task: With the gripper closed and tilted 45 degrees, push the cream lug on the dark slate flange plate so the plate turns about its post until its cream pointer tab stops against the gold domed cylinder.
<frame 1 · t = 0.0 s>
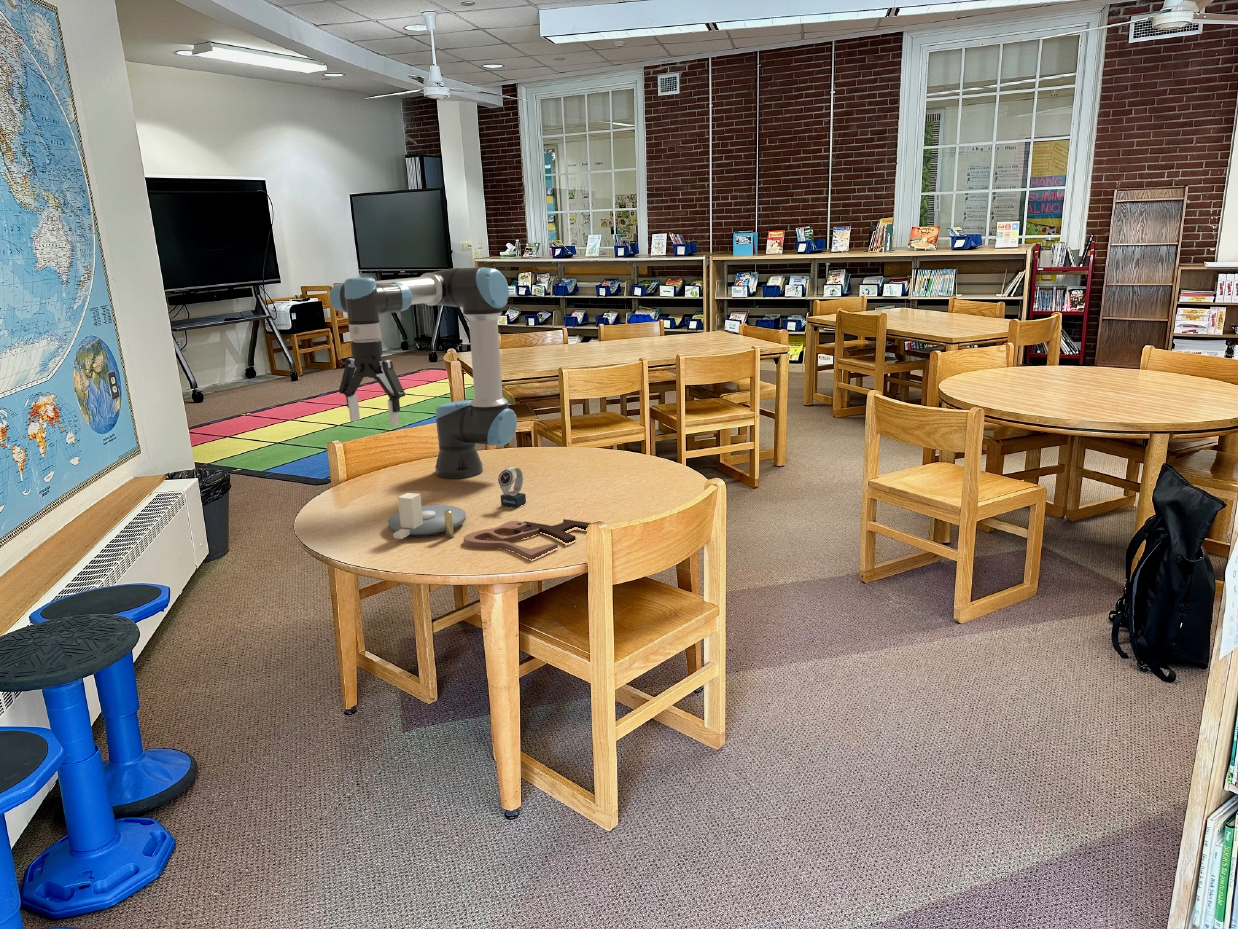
hand: (374, 422, 217), 28 cm above the table, tool pointing down, fingers open, 13 cm apart
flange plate: (422, 506, 219), point 6 cm above the table, hinge at 0.0°
watch: (513, 505, 238), on the table
wood carving: (531, 539, 212), on the table
turntable base: (428, 526, 222), on the table
gold domed cylinder: (450, 537, 214), on the table
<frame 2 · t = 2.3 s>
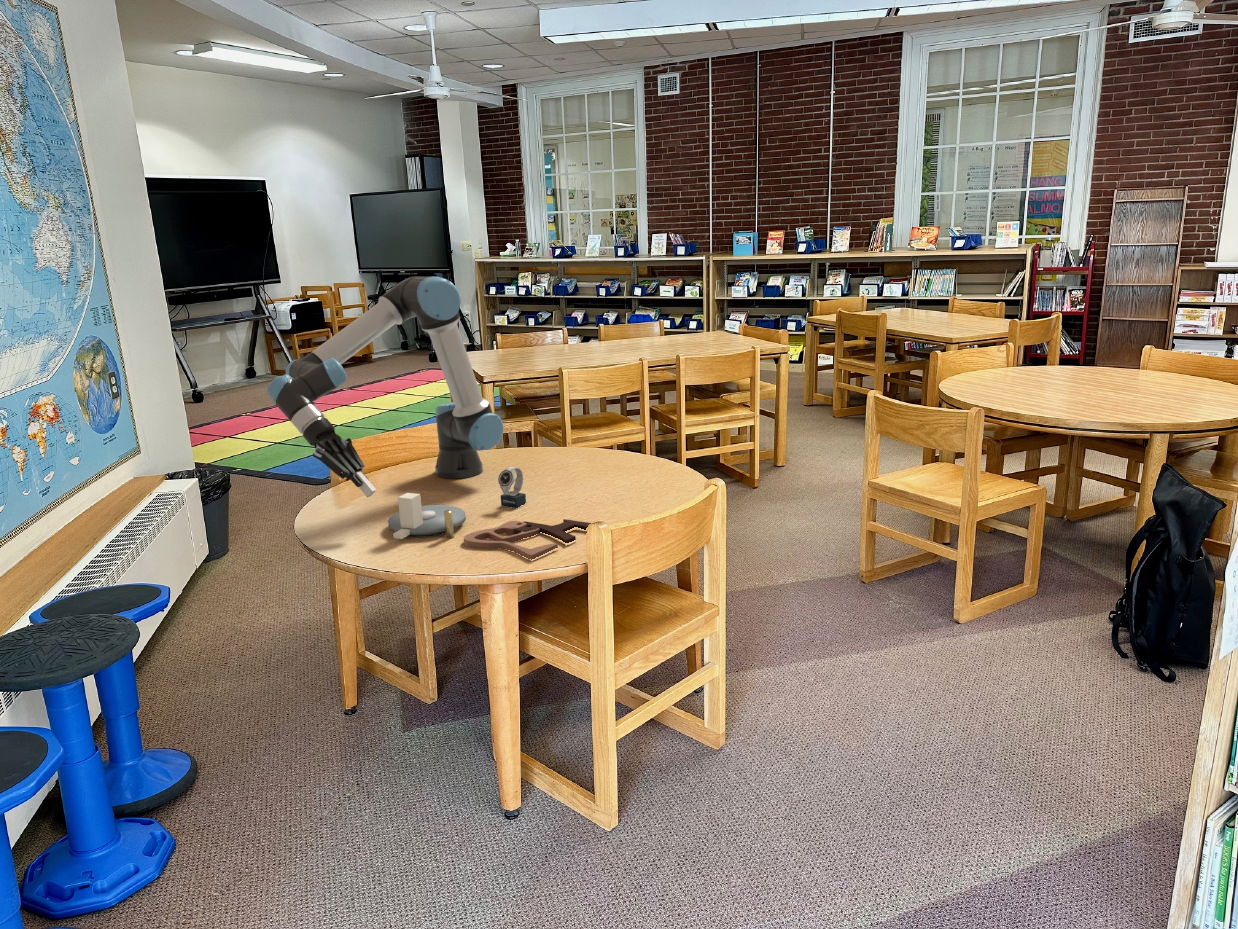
hand: (371, 493, 216), 11 cm above the table, tool tilted 45°, fingers closed
nothing on the table moved.
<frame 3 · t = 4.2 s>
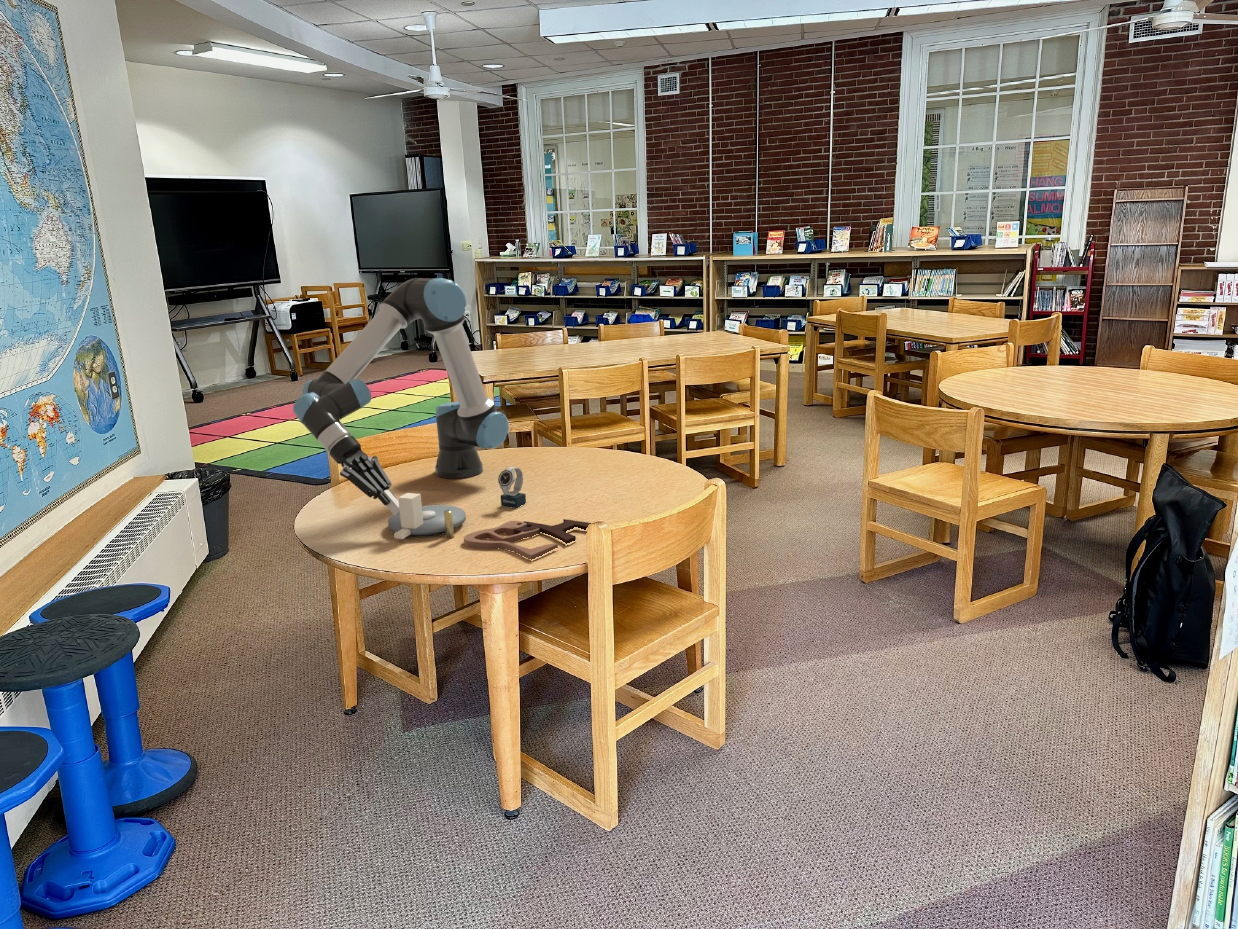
hand: (399, 511, 215), 6 cm above the table, tool tilted 45°, fingers closed
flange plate: (422, 506, 219), point 6 cm above the table, hinge at 1.0°, touching gripper
everything else where it was.
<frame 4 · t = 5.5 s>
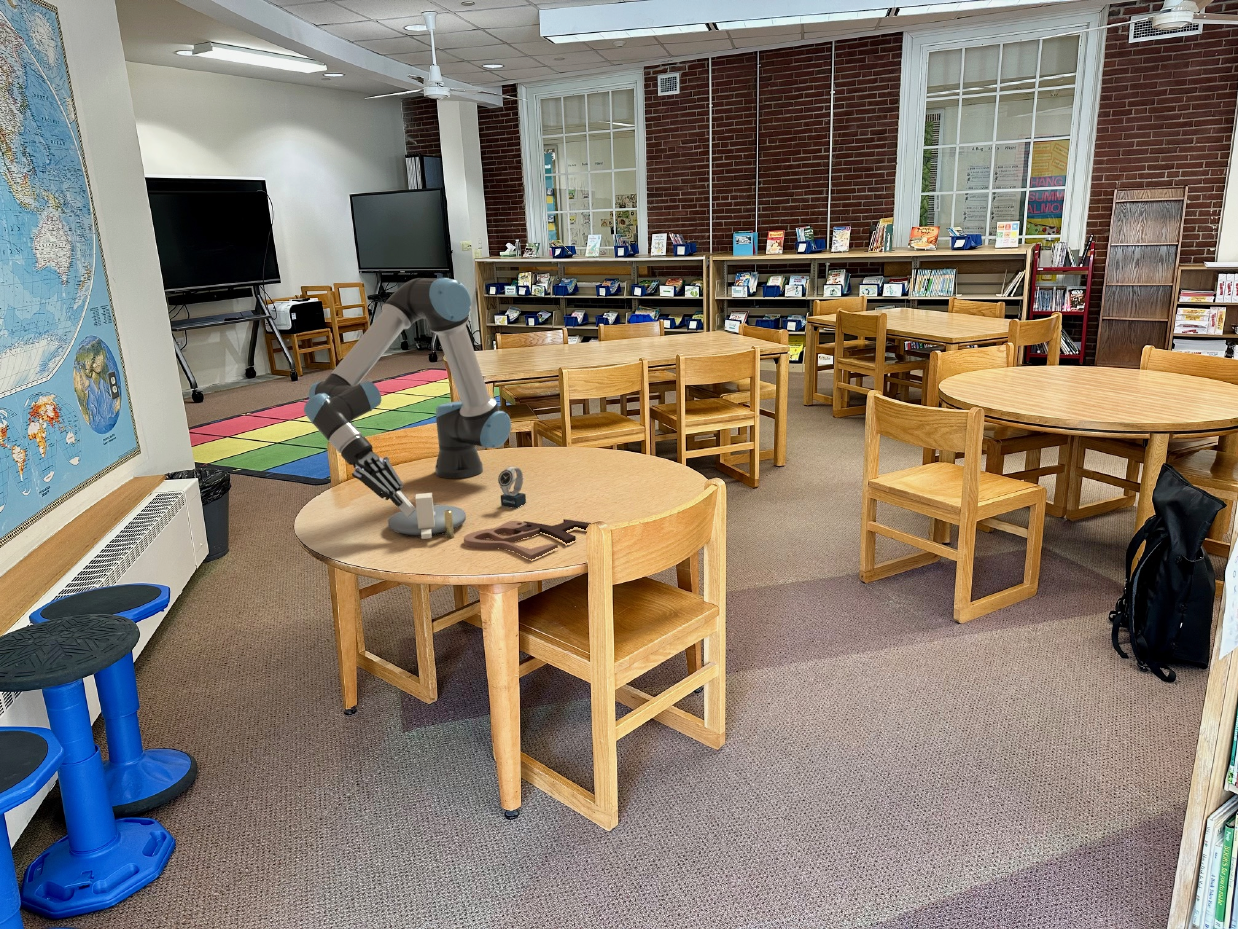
hand: (411, 513, 214), 6 cm above the table, tool tilted 45°, fingers closed
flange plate: (425, 506, 219), point 6 cm above the table, hinge at 31.6°, touching gripper
everything else where it was.
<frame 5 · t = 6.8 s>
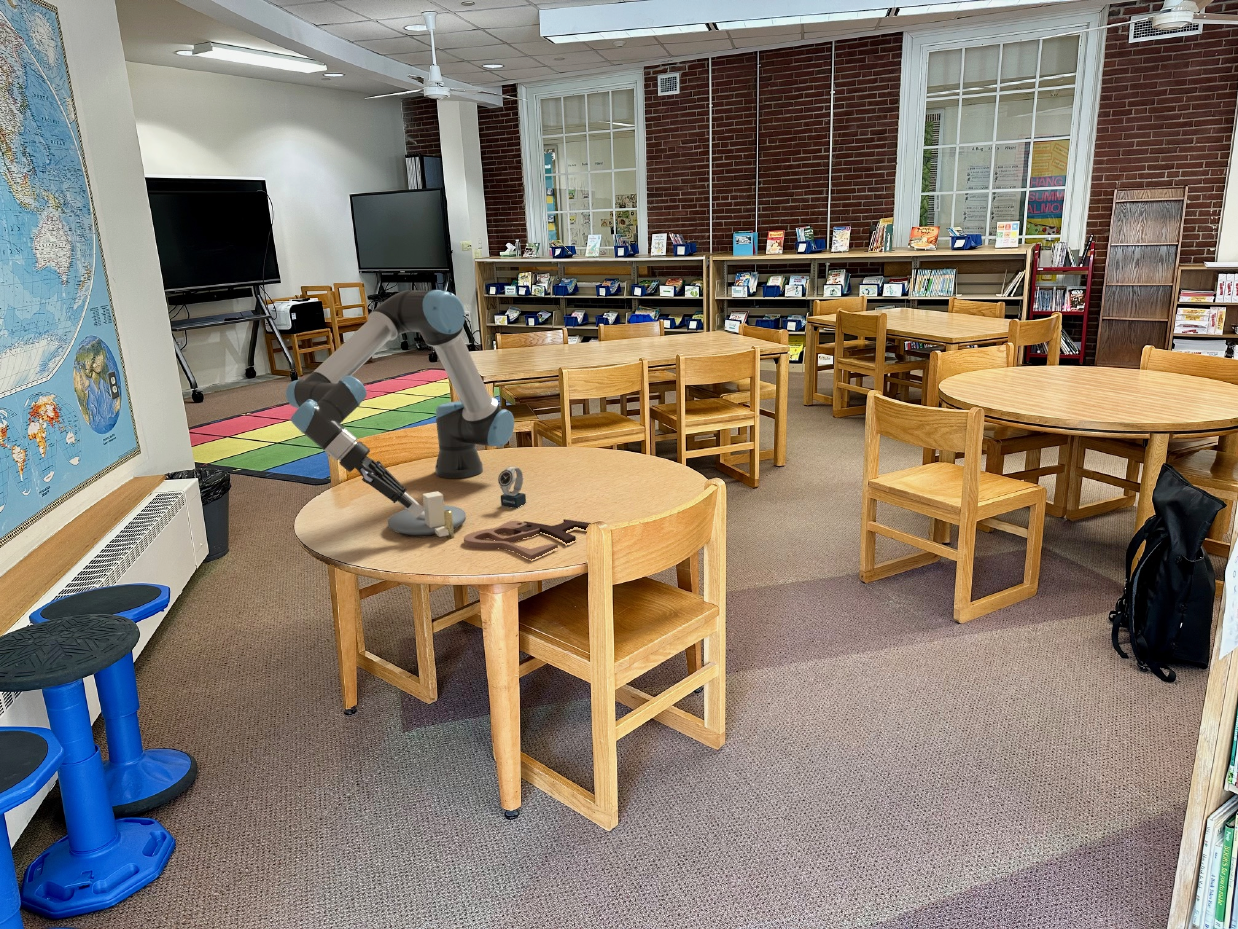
hand: (420, 513, 213), 6 cm above the table, tool tilted 45°, fingers closed
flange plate: (428, 506, 219), point 6 cm above the table, hinge at 50.1°, touching gold domed cylinder, gripper
everything else where it was.
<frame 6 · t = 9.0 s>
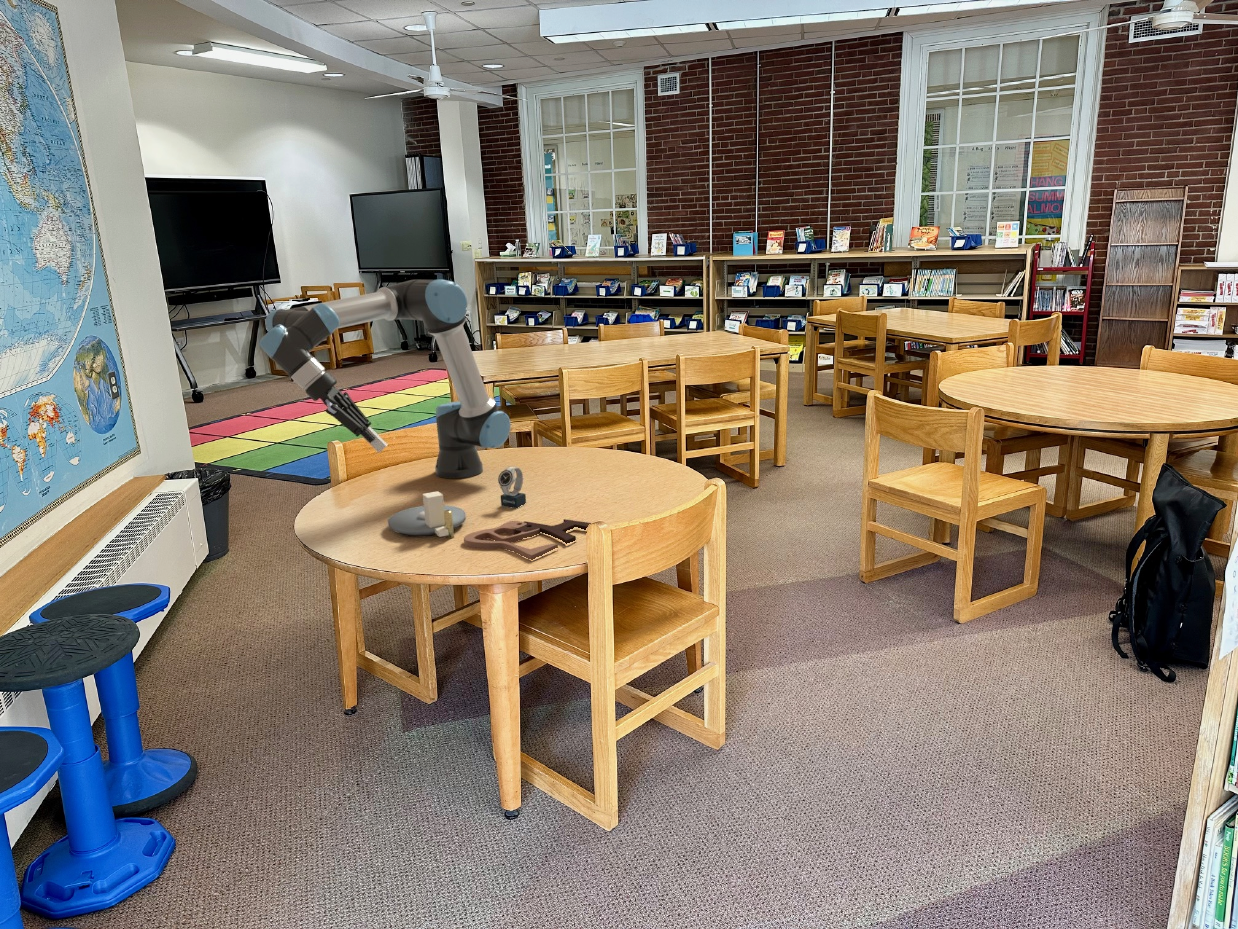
hand: (383, 448, 215), 22 cm above the table, tool tilted 40°, fingers closed
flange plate: (428, 506, 219), point 6 cm above the table, hinge at 50.1°, touching gold domed cylinder
everything else where it was.
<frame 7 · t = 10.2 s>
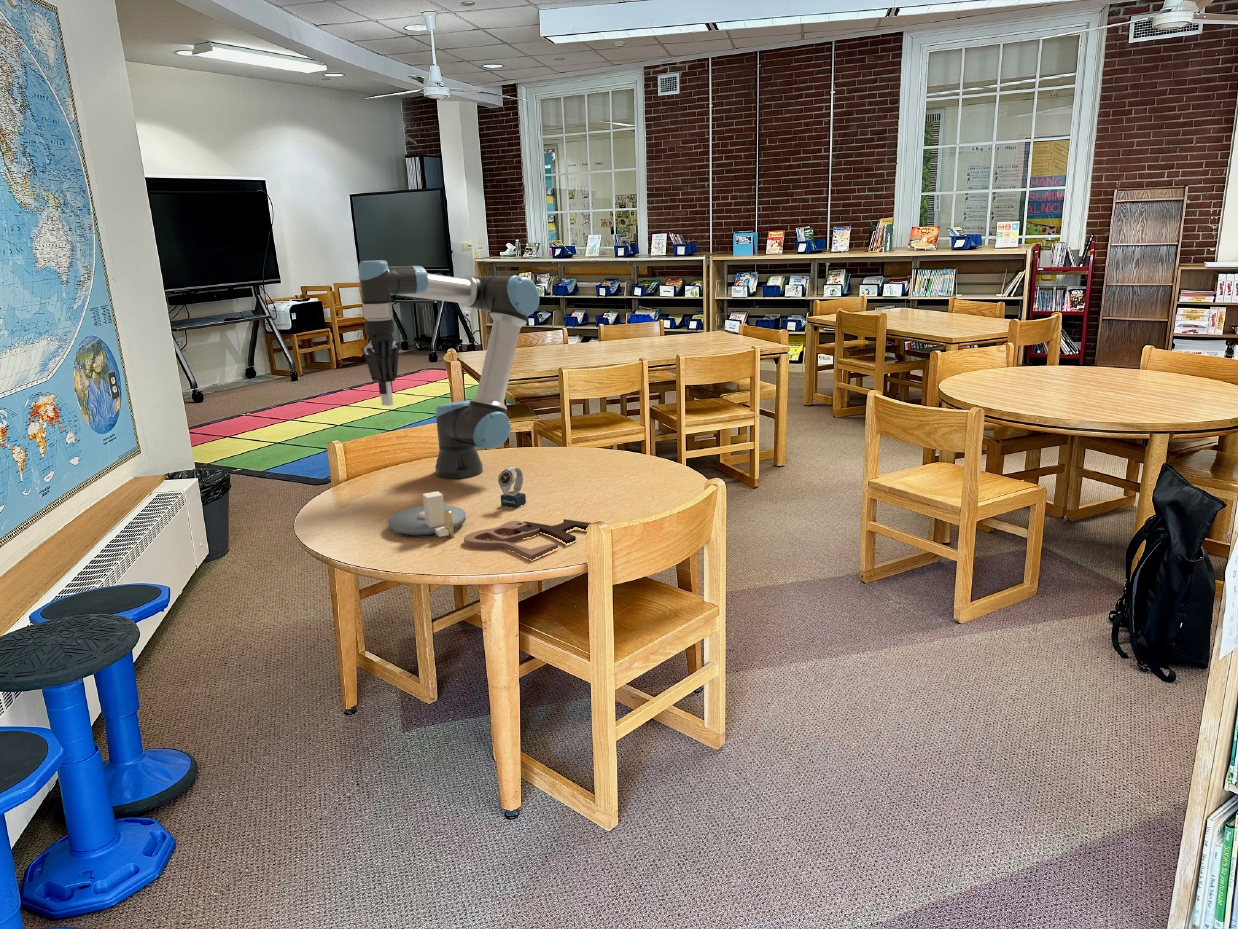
hand: (387, 404, 233), 29 cm above the table, tool pointing down, fingers closed
nothing on the table moved.
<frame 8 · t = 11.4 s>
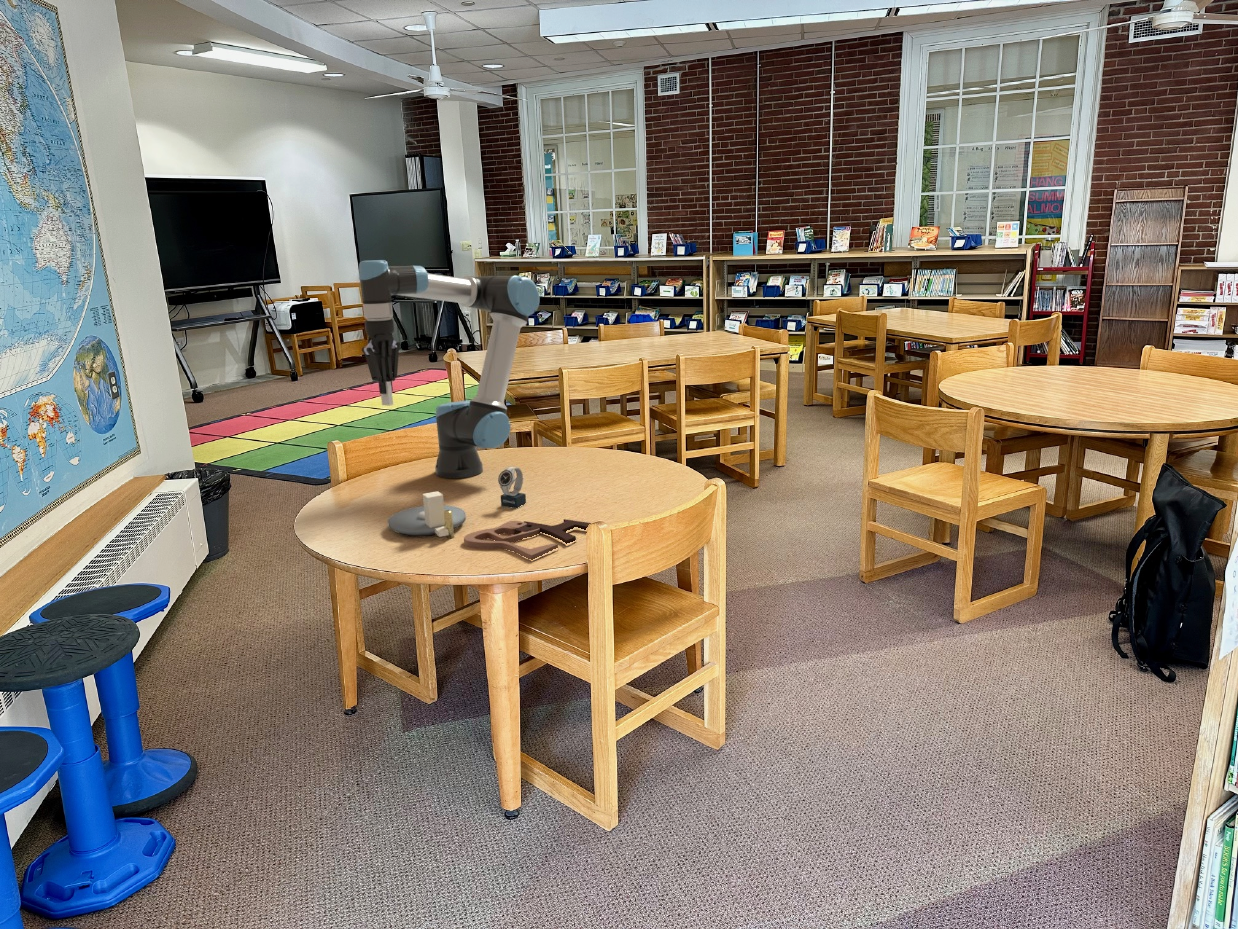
hand: (387, 404, 233), 29 cm above the table, tool pointing down, fingers closed
nothing on the table moved.
at the end: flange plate at +50° (first picture: +0°) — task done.
